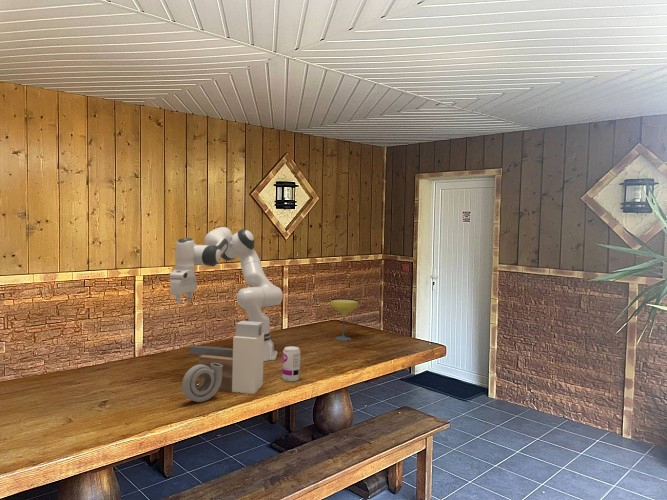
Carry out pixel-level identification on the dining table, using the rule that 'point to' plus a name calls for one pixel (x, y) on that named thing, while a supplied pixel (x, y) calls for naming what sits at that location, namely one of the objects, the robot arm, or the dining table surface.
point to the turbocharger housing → (209, 385)
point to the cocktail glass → (344, 310)
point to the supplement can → (291, 364)
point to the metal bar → (211, 351)
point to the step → (226, 370)
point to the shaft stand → (248, 357)
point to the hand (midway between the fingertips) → (184, 302)
